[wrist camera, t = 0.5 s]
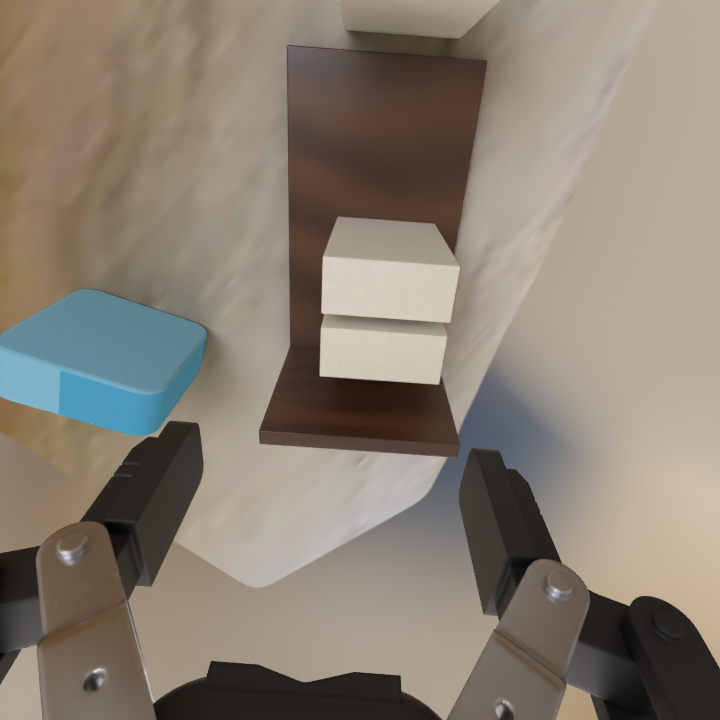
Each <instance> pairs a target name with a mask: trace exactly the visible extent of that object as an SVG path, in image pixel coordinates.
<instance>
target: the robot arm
mask: <svg viewBox="0 0 720 720" xmlns="http://www.w3.org/2000/svg"><path fill="white" fill-rule="evenodd" d="M202 474H203V454H202V445H201V437H200V429H199V425H198V424H197V423H192V422H180V421H169V422H168V423H167V425H166V426H165V428H164V429H163V431H162V432H161V434H160V435H159V437H158V438H157V437H148V438H146V439H145V440H143V441H142V442H141V443H139V444H138V445H136V446H135V447H134V448H132V450H131V451H130V453H129V454H128V455H127V457H126V458H125V460H124V461H123V463H122V465H120V466H119V468H118V469H117V471H116V472H115V473H114V477H112V478H111V479H110V480H109V482H108V483H107V484H106V486H105V487H104V489H103V490H102V491H101V493H100V494H99V496H98V497H97V498H96V500H95V501H94V503H93V504H92V505H91V507H90V508H89V510H88V511H87V512H86V514H85V515H84V516H83V518H82V519H81V521H80V522H78V523H74V524H71V525H68V526H66V527H64V528H62V529H60V530H58V531H56V532H55V533H54V534H52V535H51V536H50V537H49V538H47V539H46V541H45V542H44V543H43V544H42V545H41V546H37V547H32V548H27V549H21V550H16V551H11V552H5V553H0V684H1V683H2V681H3V679H4V678H5V676H6V674H7V673H8V671H9V669H10V668H11V666H12V664H13V663H14V661H15V659H16V658H17V656H18V654H19V653H20V651H21V649H22V648H26V647H30V646H34V645H37V658H38V669H39V682H40V693H41V706H42V718H43V720H442V719H441V718H440V717H439V716H438V715H437V714H435V712H434V711H432V710H431V709H430V708H429V707H428V706H426V705H425V704H424V703H422V702H421V701H420V700H418V699H416V698H414V697H413V696H411V695H409V694H407V693H404V692H402V691H401V676H398V675H386V674H373V673H360V672H353V673H348V674H343V675H339V676H334V677H330V678H325V679H321V680H316V681H312V682H301V681H297V680H295V679H293V678H290V677H288V676H285V675H283V674H280V673H278V672H275V671H272V670H270V669H267V668H265V667H263V666H260V665H256V664H243V663H229V662H217V661H211V663H210V667H209V670H208V673H207V677H204V678H199V679H197V680H194V681H191V682H188V683H186V684H184V685H182V686H180V687H177V688H176V689H174V690H172V691H170V692H169V693H167V694H166V695H164V696H163V697H161V698H160V699H159V700H157V701H156V702H155V698H154V694H153V691H152V687H151V684H150V680H149V677H148V673H147V670H146V665H145V662H144V658H143V654H142V651H141V647H140V643H139V639H138V635H137V632H136V628H135V624H134V620H133V617H132V612H131V609H130V605H129V601H128V600H129V598H130V596H131V594H132V592H133V590H134V588H135V586H136V585H137V586H149V587H151V586H152V584H153V582H154V580H155V578H156V576H157V573H158V571H159V569H160V567H161V565H162V563H163V561H164V558H165V556H166V554H167V552H168V550H169V548H170V546H171V543H172V542H173V539H174V537H175V535H176V533H177V531H178V529H179V527H180V525H181V522H182V520H183V518H184V516H185V514H186V512H187V510H188V508H189V505H190V503H191V501H192V499H193V497H194V495H195V493H196V491H197V488H198V486H199V484H200V481H201V478H202ZM459 503H460V509H461V514H462V518H463V523H464V528H465V532H466V537H467V541H468V546H469V550H470V555H471V559H472V564H473V569H474V573H475V577H476V582H477V587H478V591H479V596H480V600H481V605H482V609H483V614H484V615H492V616H498V619H499V624H498V626H497V627H496V629H494V631H493V633H492V634H491V636H490V638H489V640H488V642H487V644H486V646H485V648H484V650H483V652H482V653H481V655H480V657H479V659H478V661H477V663H476V665H475V667H474V669H473V671H472V672H471V674H470V676H469V678H468V680H467V682H466V684H465V686H464V688H463V689H462V691H461V693H460V695H459V697H458V699H457V701H456V703H455V705H454V707H453V709H452V710H451V712H450V714H449V716H448V718H447V720H556V717H557V714H558V711H559V708H560V705H561V702H562V699H563V696H564V693H565V689H566V684H569V685H571V686H574V687H576V688H578V689H581V690H583V691H585V692H587V693H590V695H591V698H592V701H593V704H594V707H595V710H596V713H597V716H598V720H720V668H719V666H718V665H717V663H716V661H715V659H714V658H713V656H712V654H711V652H710V651H709V649H708V647H707V645H706V644H705V642H704V640H703V639H702V637H701V635H700V633H699V632H698V630H697V628H696V627H695V626H694V624H693V623H692V622H691V621H690V620H689V619H688V618H687V617H686V615H684V614H683V613H682V612H681V611H680V610H678V609H677V608H675V607H674V606H672V605H671V604H669V603H667V602H665V601H663V600H661V599H658V598H655V597H651V596H641V597H638V598H636V599H635V600H633V602H632V603H631V605H630V606H627V605H625V604H622V603H619V602H617V601H614V600H611V599H609V598H606V597H603V596H601V595H598V594H596V593H593V592H592V591H590V590H588V589H587V587H586V585H585V584H584V582H583V581H582V579H581V578H580V577H579V576H578V575H577V574H576V573H575V572H574V571H573V570H571V569H570V568H569V567H567V566H565V565H564V564H562V562H561V560H560V558H559V555H558V553H557V550H556V548H555V546H554V543H553V541H552V539H551V536H550V534H549V531H548V529H547V527H546V524H545V522H544V520H543V517H542V515H541V514H540V510H539V508H538V505H537V503H536V502H535V498H534V496H533V493H532V491H531V488H530V486H529V484H528V482H527V481H526V480H525V479H524V478H523V477H522V476H521V475H520V474H519V473H518V472H517V470H514V469H506V467H505V465H504V462H503V459H502V457H501V454H500V452H499V451H498V450H489V449H478V448H472V449H471V451H470V453H469V456H468V460H467V463H466V467H465V471H464V474H463V478H462V481H461V485H460V491H459Z"/></svg>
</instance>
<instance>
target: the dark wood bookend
mask: <svg viewBox="0 0 720 720" xmlns="http://www.w3.org/2000/svg"><path fill="white" fill-rule="evenodd" d="M486 67H487V61H484V60H471V59H458V58H446V57H433V56H420V55H408V54H395V53H382V52H369V51H357V50H344V49H331V48H318V47H306V46H293V45H288V46H287V96H288V185H289V274H290V348H289V351H288V354H287V356H286V359H285V362H284V364H283V367H282V370H281V373H280V375H279V378H278V381H277V383H276V386H275V389H274V392H273V394H272V397H271V400H270V403H269V405H268V408H267V411H266V413H265V416H264V419H263V422H262V424H261V427H260V430H259V440H260V444H269V445H283V446H298V447H312V448H326V449H341V450H355V451H369V452H384V453H398V454H412V455H427V456H441V457H456V458H457V457H458V453H459V448H460V443H459V439H458V435H457V431H456V428H455V424H454V420H453V416H452V413H451V409H450V405H449V402H448V398H447V394H446V390H445V387H444V383H443V379H442V376H441V377H440V382H439V385H437V384H423V383H409V382H395V381H380V380H366V379H352V378H338V377H324V376H320V341H321V325H322V321H323V317H324V314H322V313H321V304H322V266H323V255H324V252H325V250H326V247H327V244H328V242H329V239H330V236H331V233H332V231H333V228H334V225H335V223H336V220H337V217H351V218H365V219H378V220H391V221H405V222H418V223H431V224H435V225H436V227H437V229H438V230H439V232H440V234H441V235H442V237H443V239H444V240H445V242H446V244H447V245H448V247H449V249H450V250H451V252H452V254H453V255H454V251H455V246H456V240H457V234H458V228H459V223H460V217H461V211H462V205H463V199H464V194H465V188H466V182H467V176H468V171H469V165H470V159H471V153H472V147H473V142H474V136H475V130H476V124H477V119H478V113H479V107H480V101H481V95H482V90H483V84H484V78H485V72H486Z"/></svg>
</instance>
